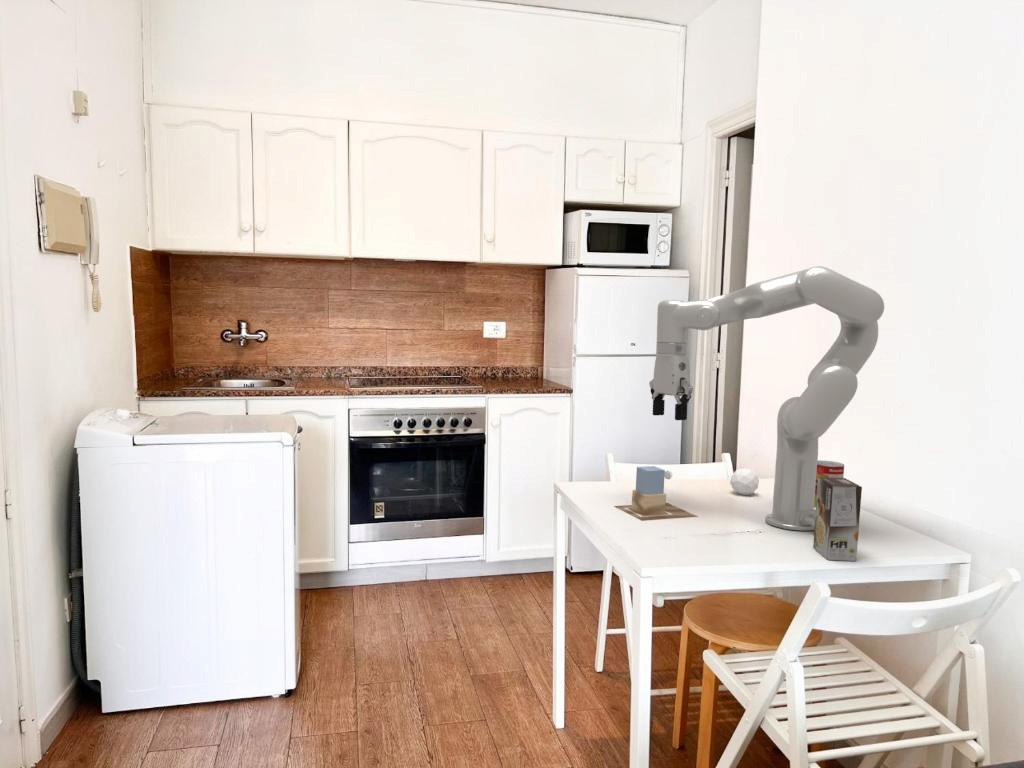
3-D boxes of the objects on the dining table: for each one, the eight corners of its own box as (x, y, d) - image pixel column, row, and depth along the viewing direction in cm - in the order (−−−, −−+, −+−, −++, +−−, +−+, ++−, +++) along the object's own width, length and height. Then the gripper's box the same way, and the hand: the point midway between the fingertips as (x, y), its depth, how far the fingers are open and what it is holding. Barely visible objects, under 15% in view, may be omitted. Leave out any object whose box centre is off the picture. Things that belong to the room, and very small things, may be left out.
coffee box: (857, 561, 158) (863, 486, 157) (827, 560, 158) (832, 485, 157) (840, 548, 167) (845, 477, 166) (811, 547, 167) (816, 476, 166)
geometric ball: (749, 505, 216) (761, 487, 210) (723, 492, 217) (734, 474, 212) (754, 488, 221) (765, 470, 216) (729, 476, 223) (739, 458, 218)
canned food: (823, 501, 212) (827, 459, 210) (847, 508, 205) (850, 465, 203) (803, 503, 208) (806, 461, 207) (827, 510, 201) (830, 466, 200)
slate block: (663, 493, 186) (664, 470, 186) (646, 495, 185) (647, 470, 184) (652, 489, 191) (653, 466, 190) (635, 490, 189) (636, 466, 189)
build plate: (697, 521, 185) (698, 516, 185) (641, 525, 180) (641, 520, 180) (666, 507, 198) (667, 502, 198) (613, 510, 193) (613, 505, 193)
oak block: (665, 514, 187) (666, 494, 186) (643, 515, 184) (645, 495, 184) (652, 507, 192) (653, 488, 192) (631, 509, 190) (632, 489, 190)
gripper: (705, 351, 182) (702, 421, 183) (664, 348, 198) (662, 412, 199) (679, 351, 179) (677, 422, 181) (640, 348, 195) (638, 413, 196)
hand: (669, 417), depth 190 cm, fingers open, 9 cm apart
